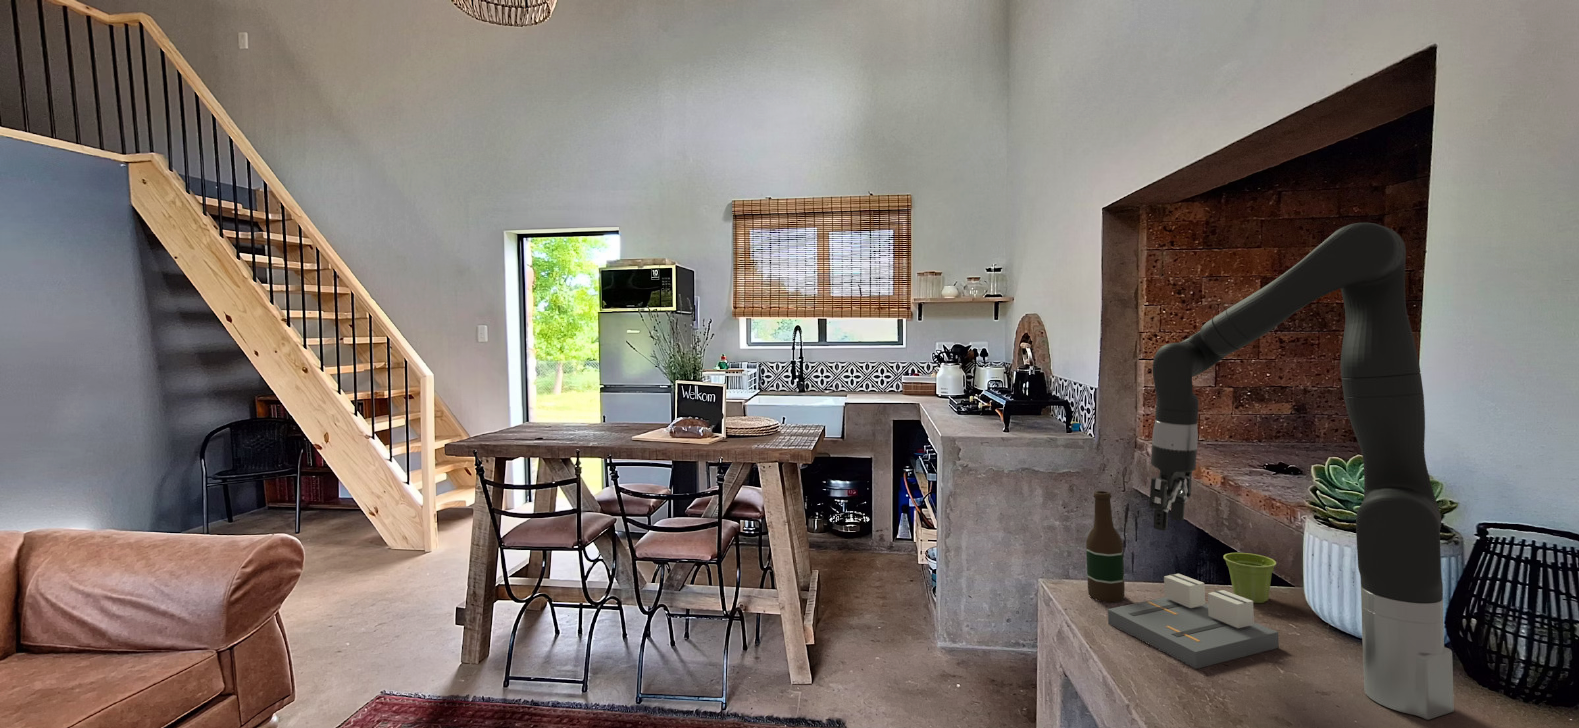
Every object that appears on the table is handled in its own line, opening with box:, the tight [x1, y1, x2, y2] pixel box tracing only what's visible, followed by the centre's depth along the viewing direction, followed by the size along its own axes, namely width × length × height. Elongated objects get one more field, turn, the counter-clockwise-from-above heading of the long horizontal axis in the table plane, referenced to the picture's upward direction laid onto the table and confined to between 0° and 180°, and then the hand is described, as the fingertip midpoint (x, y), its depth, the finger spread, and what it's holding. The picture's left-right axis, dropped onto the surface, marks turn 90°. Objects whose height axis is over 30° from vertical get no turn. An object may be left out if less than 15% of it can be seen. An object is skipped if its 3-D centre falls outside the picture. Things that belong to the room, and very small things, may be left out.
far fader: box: [1163, 573, 1206, 608], centre depth 131 cm, size 6×4×5 cm, turn 17°
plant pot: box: [1223, 552, 1277, 604], centre depth 139 cm, size 9×9×9 cm
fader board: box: [1107, 596, 1280, 670], centre depth 124 cm, size 20×20×3 cm
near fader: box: [1207, 589, 1255, 628], centre depth 121 cm, size 6×4×5 cm, turn 17°
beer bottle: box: [1085, 490, 1126, 603], centre depth 143 cm, size 8×8×24 cm
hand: (1168, 524), depth 125 cm, fingers open, 8 cm apart
